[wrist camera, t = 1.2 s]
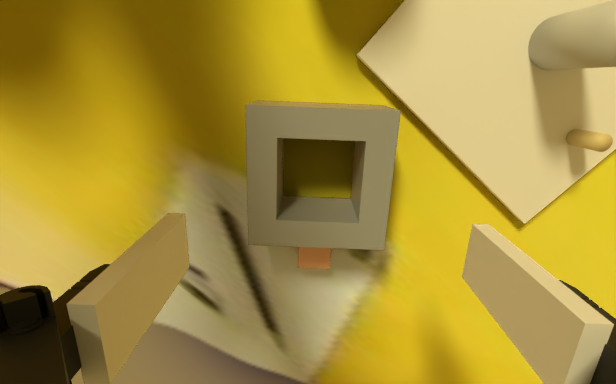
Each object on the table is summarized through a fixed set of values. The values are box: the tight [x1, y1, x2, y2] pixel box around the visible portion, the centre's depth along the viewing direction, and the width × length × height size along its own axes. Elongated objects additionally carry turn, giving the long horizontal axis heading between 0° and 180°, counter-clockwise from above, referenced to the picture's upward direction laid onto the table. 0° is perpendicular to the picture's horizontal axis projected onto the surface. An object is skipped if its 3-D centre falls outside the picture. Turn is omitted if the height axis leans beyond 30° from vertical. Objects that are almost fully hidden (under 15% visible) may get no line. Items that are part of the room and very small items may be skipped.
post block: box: [356, 0, 616, 224], centre depth 24 cm, size 22×22×8 cm
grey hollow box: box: [245, 101, 401, 269], centre depth 29 cm, size 15×11×6 cm
